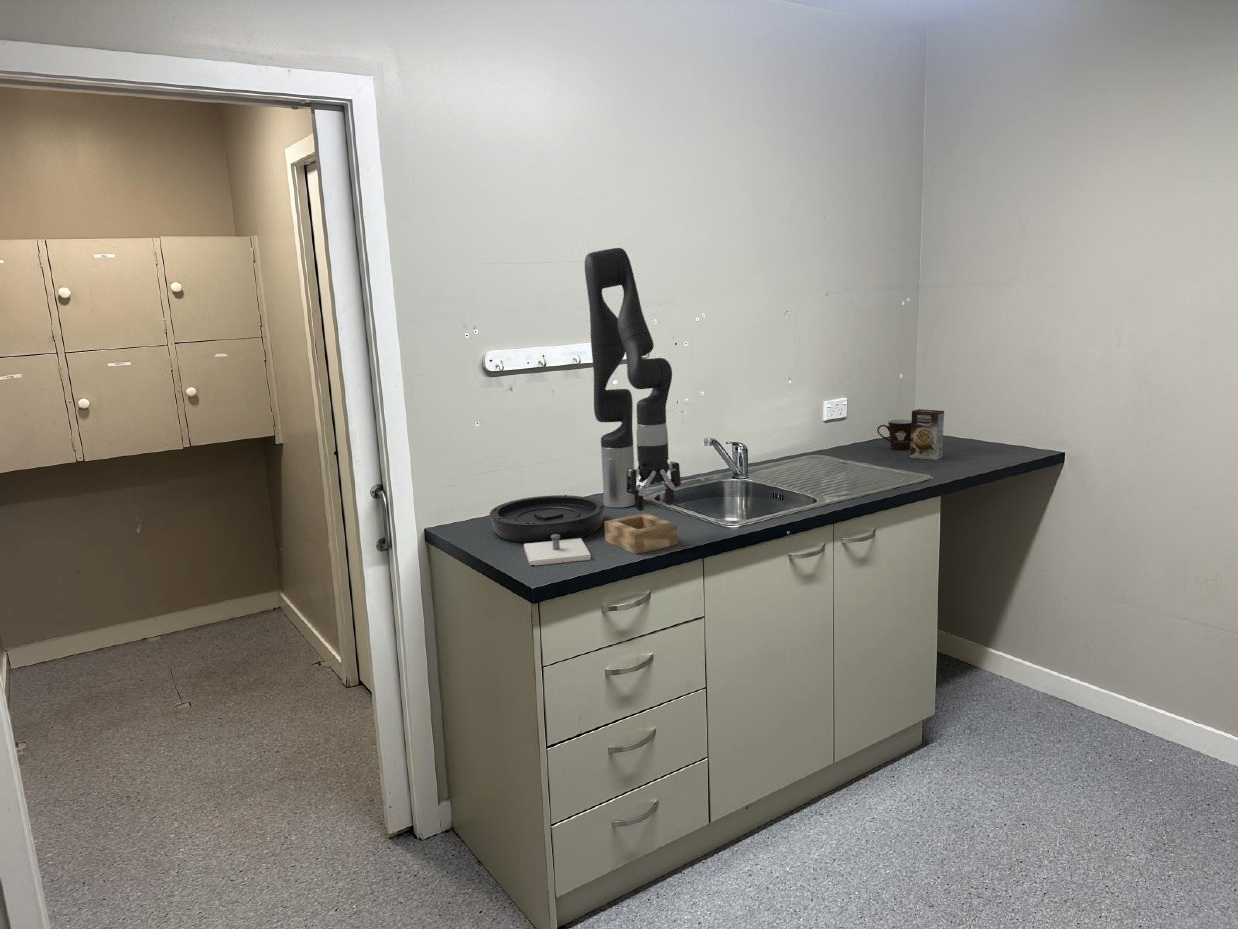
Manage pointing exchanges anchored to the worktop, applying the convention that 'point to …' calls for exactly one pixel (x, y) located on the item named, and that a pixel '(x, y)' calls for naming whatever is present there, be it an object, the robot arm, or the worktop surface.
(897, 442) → the coffee mug
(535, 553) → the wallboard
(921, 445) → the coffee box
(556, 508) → the round tray
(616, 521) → the frame
